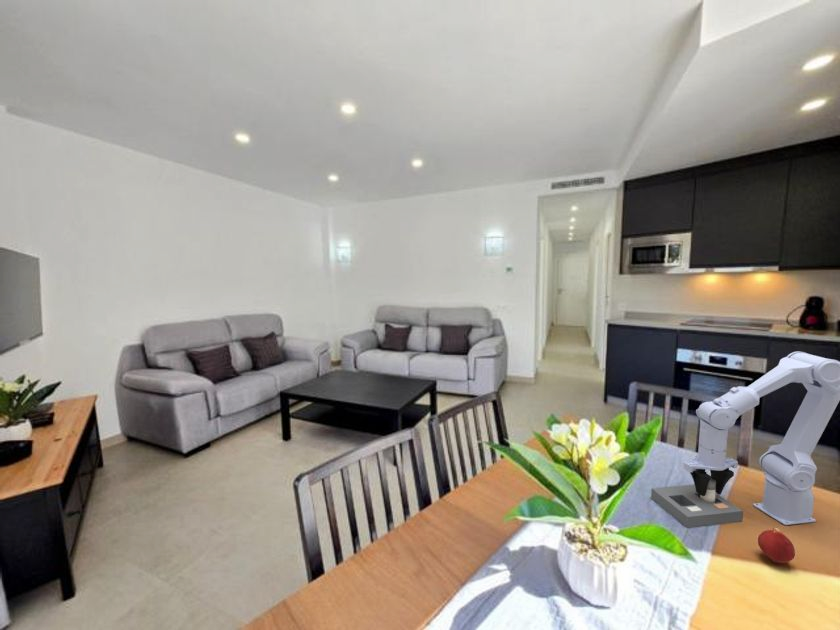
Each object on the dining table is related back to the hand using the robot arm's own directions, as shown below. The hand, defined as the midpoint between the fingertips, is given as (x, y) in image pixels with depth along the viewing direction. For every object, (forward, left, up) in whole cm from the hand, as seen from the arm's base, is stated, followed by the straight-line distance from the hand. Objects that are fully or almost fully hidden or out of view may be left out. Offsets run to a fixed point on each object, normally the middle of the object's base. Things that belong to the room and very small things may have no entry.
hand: (708, 493), depth 96 cm
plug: (0, 0, -4) cm, 4 cm away
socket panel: (+4, 0, -4) cm, 6 cm away
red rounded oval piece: (+2, +18, -5) cm, 19 cm away
